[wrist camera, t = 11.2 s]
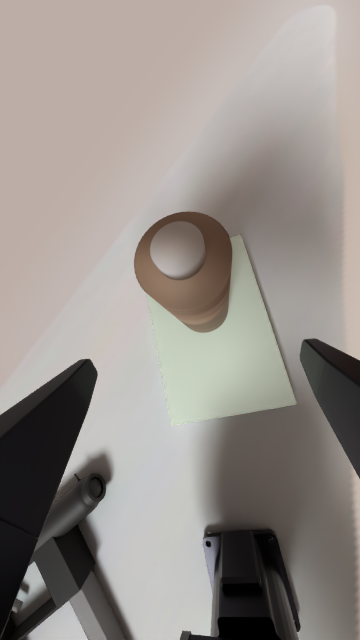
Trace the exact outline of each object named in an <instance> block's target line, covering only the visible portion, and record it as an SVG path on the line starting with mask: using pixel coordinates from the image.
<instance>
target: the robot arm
mask: <svg viewBox="0 0 360 640" xmlns="http://www.w3.org/2000/svg"><path fill="white" fill-rule="evenodd" d="M300 361H301V363H302V366H303V368H304V371H305V373H306V376H307V378H308V381H309V383H310V386H311V388H312V390H313V393H314V395H315V397H316V399H317V401H318V403H319V405H320V407H321V409H322V410H323V412H324V414H325V416H326V418H327V420H328V421H329V423H330V425H331V427H332V429H333V431H334V432H335V434H336V436H337V438H338V440H339V442H340V443H341V445H342V447H343V449H344V451H345V453H346V454H347V456H348V458H349V460H350V462H351V464H352V465H353V467H354V469H355V471H356V473H357V475H358V476H359V478H360V361H359V360H357V359H356V358H354V357H352V356H350V355H348V354H346V353H344V352H342V351H340V350H338V349H336V348H334V347H332V346H330V345H328V344H326V343H324V342H322V341H320V340H318V339H305V340H303V342H302V346H301V351H300ZM97 375H98V374H97V370H96V368H95V367H94V365H93V363H92V361H91V360H90V359H81V360H79V361H77V362H76V363H75V364H73V365H72V366H70V367H69V368H67V369H66V370H65V371H63V372H62V373H60V374H59V375H57V376H56V377H54V378H53V379H52V380H50V381H49V382H47V383H46V384H44V385H43V386H42V387H40V388H39V389H37V390H36V391H34V392H33V393H31V394H30V395H29V396H27V397H26V398H24V399H23V400H21V401H20V402H18V403H17V404H16V405H14V406H13V407H11V408H10V409H8V410H7V411H6V412H4V413H3V414H1V415H0V639H1V636H2V634H3V631H4V628H5V626H6V623H7V621H8V618H9V615H10V613H11V610H12V608H13V605H14V602H15V600H16V597H17V594H18V592H19V589H20V587H21V584H22V581H23V579H24V576H25V574H26V571H27V568H28V566H29V563H30V560H31V558H32V555H33V553H34V550H35V547H36V545H37V542H38V538H39V537H40V534H41V531H42V529H43V526H44V524H45V521H46V518H47V516H48V513H49V511H50V508H51V505H52V503H53V500H54V497H55V495H56V492H57V490H58V487H59V484H60V482H61V479H62V477H63V474H64V471H65V469H66V466H67V464H68V461H69V458H70V456H71V453H72V451H73V448H74V445H75V443H76V440H77V437H78V435H79V432H80V430H81V427H82V424H83V422H84V419H85V417H86V414H87V411H88V408H89V405H90V402H91V398H92V395H93V391H94V387H95V384H96V380H97ZM269 537H273V539H272V540H270V539H269ZM206 541H210V542H211V543H210V544H209V543H207V542H206ZM203 547H204V552H205V557H206V562H207V567H208V573H209V578H210V583H211V588H212V593H213V599H212V618H211V636H202V635H192V634H191V631H182V634H181V638H180V640H299V639H298V635H297V632H299V630H300V628H301V627H300V622H299V618H298V614H297V611H296V607H295V603H294V599H293V596H292V592H291V588H290V585H289V581H288V577H287V573H286V570H285V566H284V562H283V558H282V555H281V551H280V547H279V544H278V540H277V536H276V534H275V532H274V531H272V530H270V529H266V530H252V531H250V530H241V531H227V532H223V533H210V534H205V535H204V538H203ZM294 621H295V622H294Z"/></svg>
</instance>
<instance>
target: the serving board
mask: <svg viewBox="0 0 360 640" xmlns="http://www.w3.org/2000/svg"><path fill="white" fill-rule="evenodd" d="M230 240H231V244H232V252H233V253H232V267H231V280H230V292H229V304H228V314H227V317H226V319H225V321H224V322H223V324H222V325H221V326H220V327H218V328H217V329H215V330H213V331H211V332H206V333H200V332H196V331H193V330H191V329H190V328H188V327H187V326H186V325H184V324H183V323H182V322H181V321H180V320H178V319H177V318H176V317H175V316H174V315H172V314H171V313H170V312H169V311H167V310H166V309H165V308H164V307H163V306H161V305H160V304H159V303H158V302H156V301H155V300H154V299H153V298H152V297H150V296H149V295H148V294H147V293H146V295H147V301H148V306H149V311H150V317H151V322H152V327H153V333H154V338H155V344H156V349H157V354H158V360H159V365H160V371H161V376H162V381H163V387H164V392H165V398H166V403H167V408H168V414H169V419H170V424H171V426H175V425H181V424H187V423H192V422H198V421H204V420H210V419H216V418H222V417H228V416H233V415H239V414H245V413H251V412H257V411H263V410H269V409H275V408H280V407H286V406H292V405H297V403H296V400H295V397H294V394H293V391H292V388H291V385H290V382H289V379H288V376H287V373H286V370H285V367H284V364H283V361H282V357H281V354H280V351H279V348H278V345H277V342H276V339H275V336H274V333H273V330H272V327H271V324H270V321H269V318H268V315H267V312H266V309H265V306H264V303H263V300H262V297H261V294H260V291H259V288H258V285H257V282H256V279H255V276H254V273H253V270H252V267H251V264H250V261H249V257H248V254H247V251H246V248H245V245H244V242H243V239H242V236H241V234H240V235H237V236H234V237H231V238H230Z"/></svg>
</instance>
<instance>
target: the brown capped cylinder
mask: <svg viewBox="0 0 360 640" xmlns="http://www.w3.org/2000/svg"><path fill="white" fill-rule="evenodd" d="M232 253H233V252H232V244H231V240H230V238H229V235H228V233H227V232H226V230H225V229H224V227H223V226H222V225H221V224H220V223H219V222H218V221H216V220H215V219H213V218H212V217H210V216H208V215H205V214H202V213H197V212H180V213H175V214H172V215H169V216H167V217H165V218H163V219H161V220H159V221H158V222H156V223H155V224H154V225H153V226H151V227H150V228H149V229H148V231H147V232H146V233H145V234H144V236H143V237H142V238H141V240H140V242H139V244H138V247H137V249H136V253H135V259H134V268H135V274H136V278H137V280H138V282H139V284H140V286H141V287H142V289H143V290H144V291H145V292H146V293H147V294H148V295H149V296H150V297H152V298H153V299H154V300H155V301H156V302H158V303H159V304H160V305H161V306H163V307H164V308H165V309H166V310H167V311H169V312H170V313H171V314H172V315H174V316H175V317H176V318H177V319H178V320H180V321H181V322H182V323H183V324H184V325H186V326H187V327H188V328H190V329H191V330H193V331H196V332H200V333H206V332H211V331H213V330H215V329H217V328H218V327H220V326H221V325H222V324H223V322H224V321H225V319H226V317H227V314H228V304H229V292H230V280H231V267H232Z"/></svg>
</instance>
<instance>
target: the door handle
mask: <svg viewBox="0 0 360 640" xmlns="http://www.w3.org/2000/svg"><path fill="white" fill-rule="evenodd" d="M74 475H75V477H76V478H77V480H78V483H77V484H76V485H75V486H73V487H72V488H71V489H70V490H69V491H68V492H67V493H65V494H64V495H63V496H62V497H61V498H60V499H59V500H57V501H56V502H55V503H54V504H53V505H52V506H51V508H50V511H49V513H48V516H47V518H46V521H45V524H44V526H43V529H42V531H41V534H40V537H39V538H38V542H37V545H36V547H35V550H34V553H33V555H32V558H31V560H30V563H29V565H30V564H32V563H33V562H34V561H35V563H36V565H37V567H38V569H39V571H40V573H41V575H42V577H43V580H44V582H45V584H46V586H47V588H48V590H49V592H50V594H51V597H52V598H50V599H49V600H48V601H47V602H46V603H45V604H43V605H42V606H41V607H40V608H39V609H38V610H36V611H35V612H34V613H33V614H32V615H30V616H29V617H28V618H27V619H26V620H25V621H23V622H22V623H21V624H20V625H19V626H17V627H16V628H15V629H13V626H12V624H11V621H10V619H9V618H8V621H7V623H6V626H5V628H4V631H3V634H2V636H1V639H0V640H22V639H23V638H24V637H25V636H27V635H28V634H29V633H30V632H31V631H33V630H34V629H35V628H36V627H37V626H38V625H40V624H41V623H42V622H43V621H44V620H46V619H47V618H48V617H49V616H50V615H52V614H53V613H54V612H55V611H56V610H57V609H59V608H60V607H61V606H62V605H64V604H65V603H66V602H67V601H68V600H69V602H70V604H71V606H72V608H73V610H74V612H75V614H76V616H77V618H78V620H79V622H80V624H81V626H82V628H83V630H84V632H85V634H86V636H87V638H88V640H126V639H125V637H124V635H123V632H122V630H121V628H120V626H119V624H118V622H117V620H116V618H115V615H114V613H113V611H112V609H111V607H110V605H109V603H108V601H107V598H106V596H105V594H104V592H103V590H102V588H101V586H100V584H99V582H98V580H97V578H96V576H95V575H94V573H93V571H92V569H93V567H94V565H95V563H96V562H95V560H94V558H93V556H92V554H91V552H90V550H89V548H88V546H87V544H86V542H85V540H84V537H83V535H82V533H81V531H80V529H79V527H78V525H77V524H78V523H79V522H80V521H81V520H83V519H84V518H85V517H86V516H87V515H88V514H89V513H91V512H92V511H93V510H94V509H95V508H96V507H97V505H98V503H99V502H100V501H101V500H102V499H103V498H104V496H105V493H106V485H105V482H104V480H103V478H102V477H101V476H100V475H99V474H96V473H94V474H91V475H90V476H89V477H86V478H84V479H82V480H80V479H78V478H79V477H77V475H76V474H74ZM79 480H80V481H79ZM22 605H23V602H22V601H20V600H18V599H17V598H16V600H15V602H14V605H13V608H12V611H14V612H16V613H18V612H19V610H20V609H21V607H22Z"/></svg>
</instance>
